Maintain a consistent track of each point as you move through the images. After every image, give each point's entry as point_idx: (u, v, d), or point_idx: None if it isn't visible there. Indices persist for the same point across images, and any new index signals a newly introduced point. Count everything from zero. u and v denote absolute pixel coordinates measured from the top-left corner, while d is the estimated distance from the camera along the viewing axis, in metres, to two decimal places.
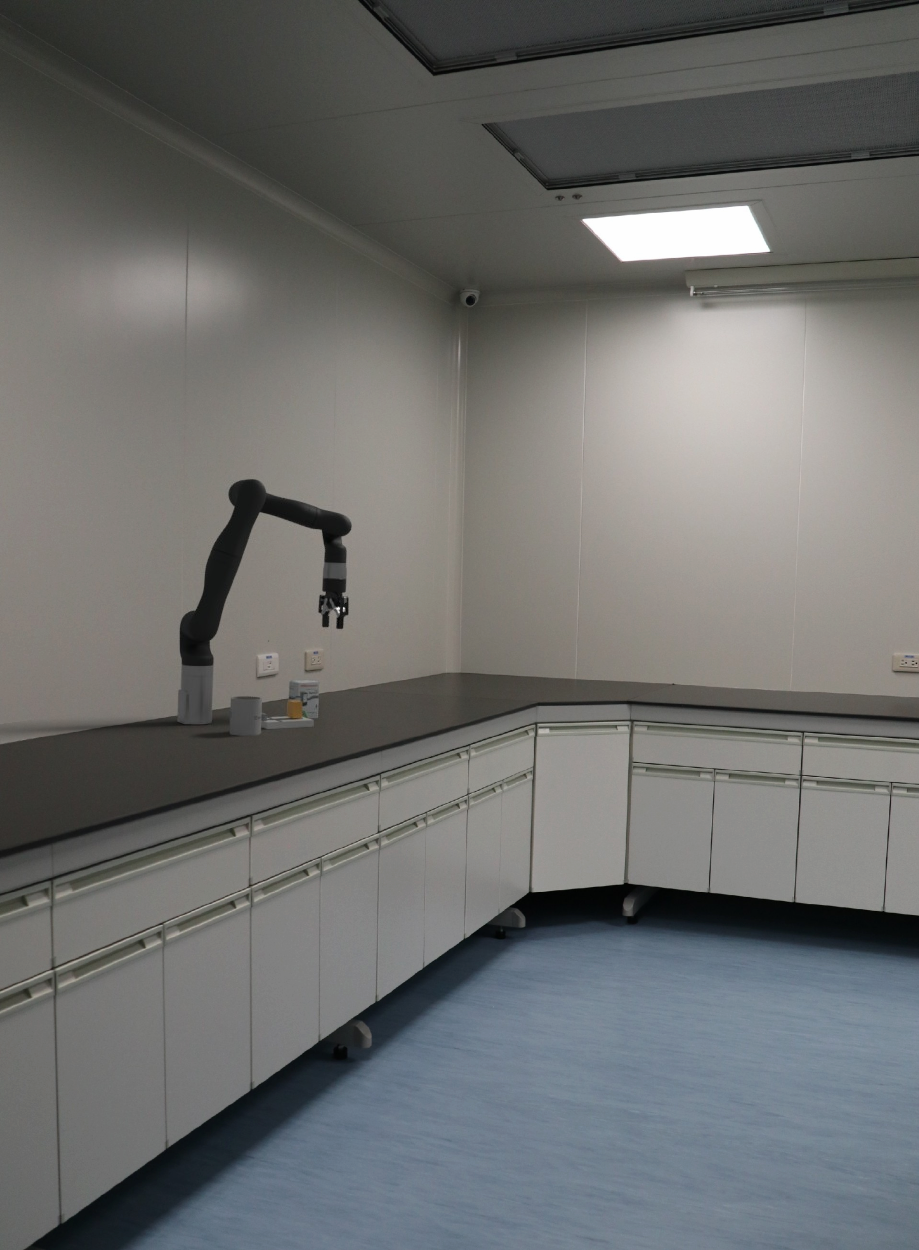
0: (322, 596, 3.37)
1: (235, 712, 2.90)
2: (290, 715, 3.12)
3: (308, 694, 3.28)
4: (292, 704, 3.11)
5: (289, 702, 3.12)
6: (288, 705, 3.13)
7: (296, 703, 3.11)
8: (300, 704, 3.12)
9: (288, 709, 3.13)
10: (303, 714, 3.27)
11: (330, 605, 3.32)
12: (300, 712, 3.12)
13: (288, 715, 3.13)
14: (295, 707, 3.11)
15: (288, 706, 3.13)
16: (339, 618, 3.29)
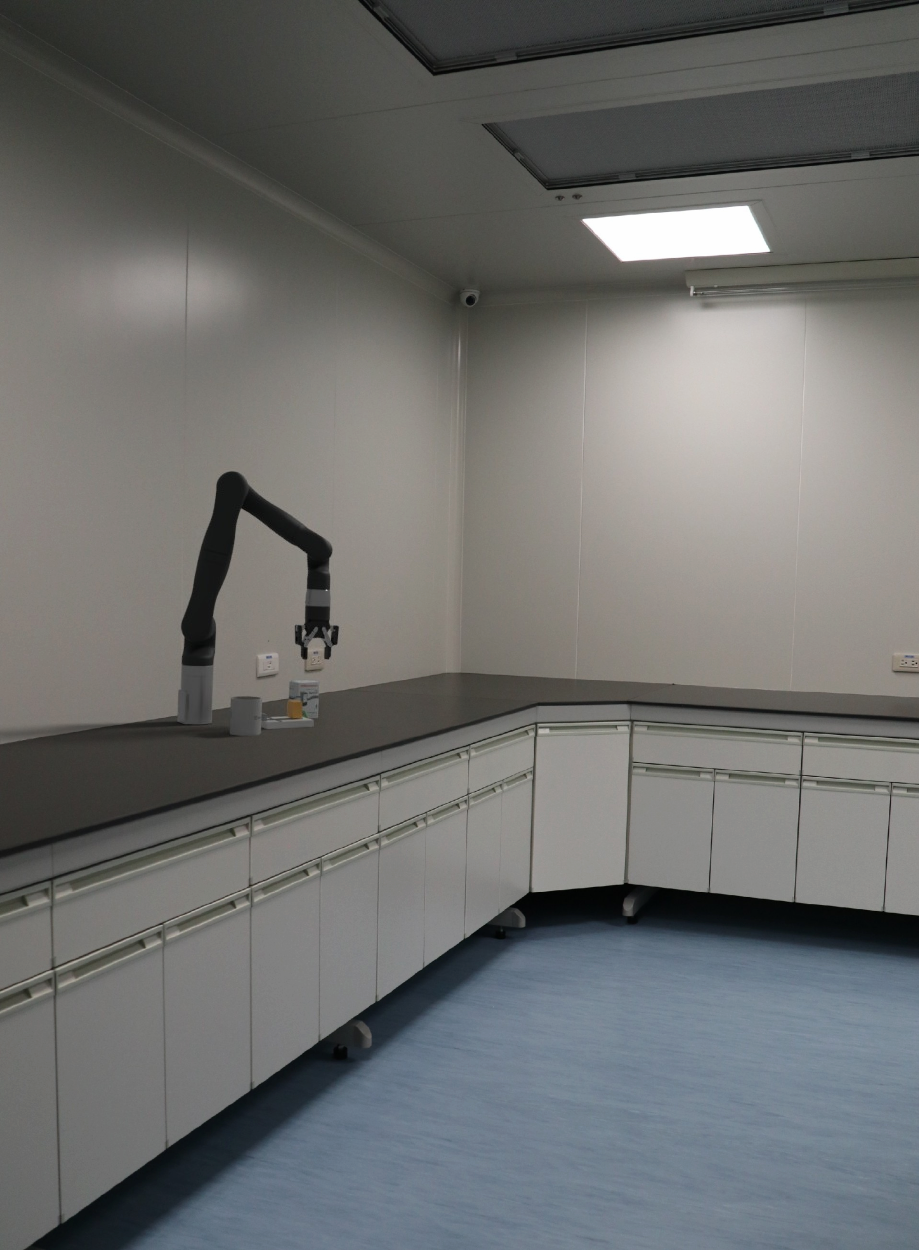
0: None
1: (235, 712, 2.90)
2: (290, 715, 3.12)
3: (308, 694, 3.28)
4: (292, 704, 3.11)
5: (289, 702, 3.12)
6: (288, 705, 3.13)
7: (296, 703, 3.11)
8: (300, 704, 3.12)
9: (288, 709, 3.13)
10: (303, 714, 3.27)
11: (318, 634, 3.15)
12: (300, 712, 3.12)
13: (288, 715, 3.13)
14: (295, 707, 3.11)
15: (288, 706, 3.13)
16: (330, 648, 3.18)
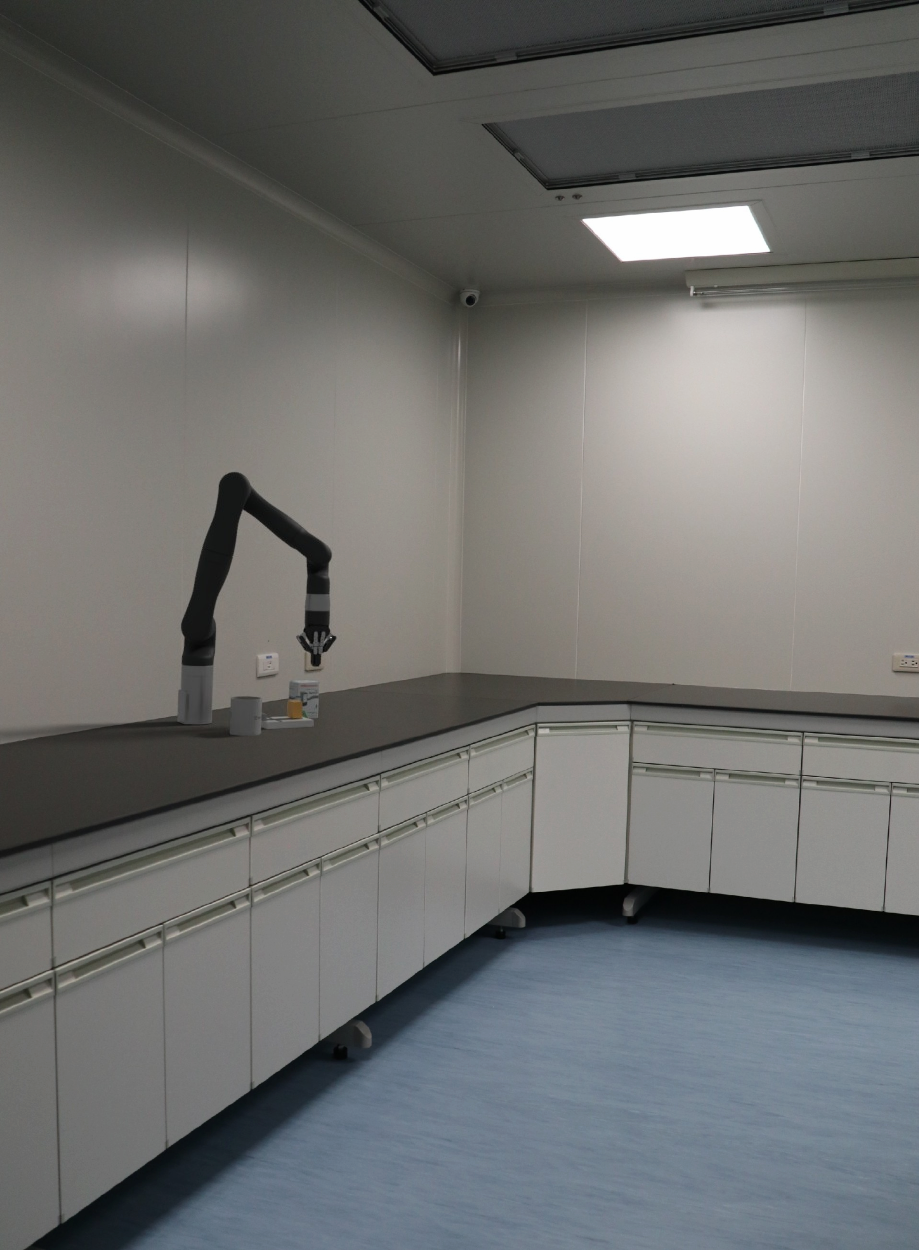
0: (302, 636, 3.12)
1: (235, 712, 2.90)
2: (290, 715, 3.12)
3: (308, 694, 3.28)
4: (292, 704, 3.11)
5: (289, 702, 3.12)
6: (288, 705, 3.13)
7: (296, 703, 3.11)
8: (300, 704, 3.12)
9: (288, 709, 3.13)
10: (303, 714, 3.27)
11: (318, 639, 3.15)
12: (300, 712, 3.12)
13: (288, 715, 3.13)
14: (295, 707, 3.11)
15: (288, 706, 3.13)
16: (320, 655, 3.16)
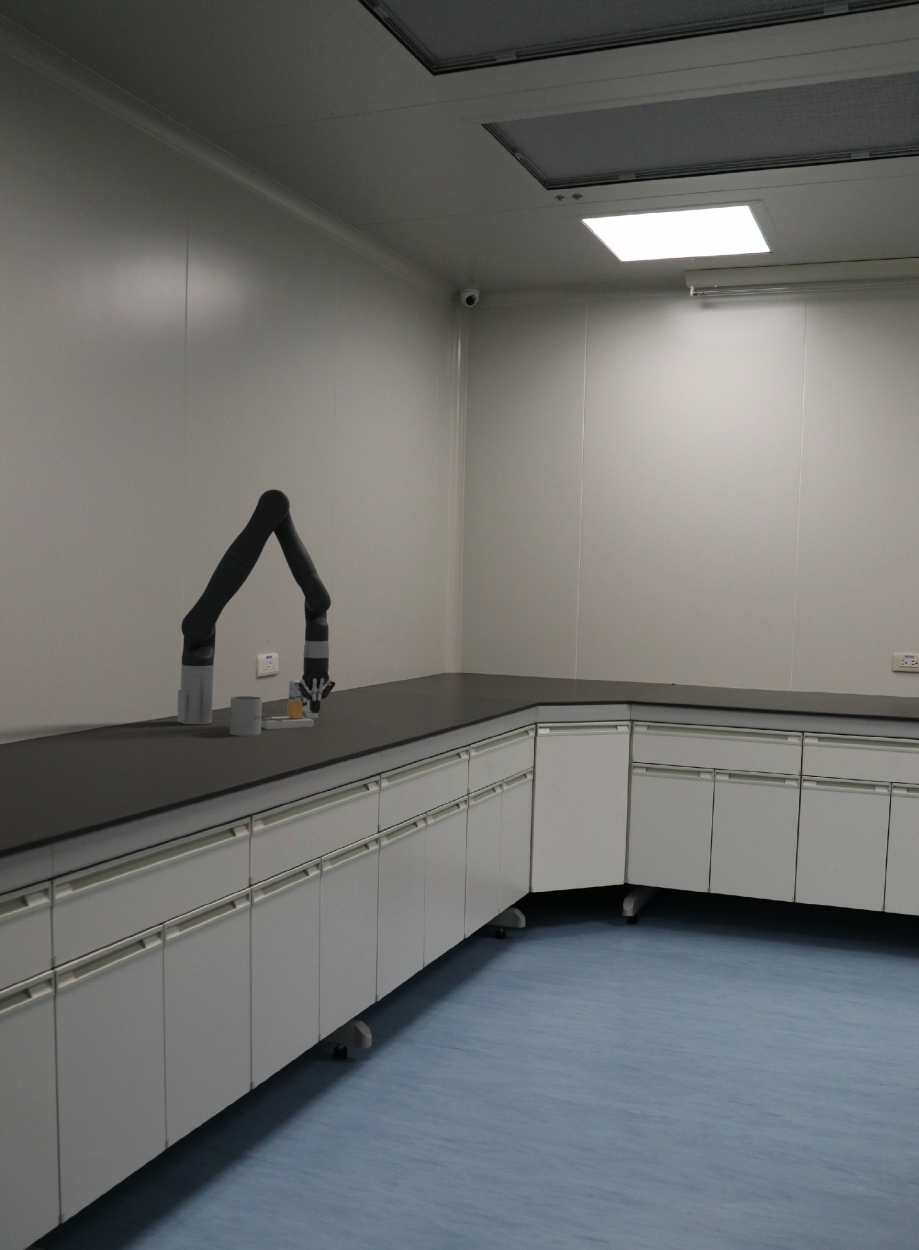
0: (301, 683, 3.13)
1: (235, 712, 2.90)
2: (290, 715, 3.12)
3: None
4: (292, 704, 3.11)
5: (289, 702, 3.12)
6: (288, 705, 3.13)
7: (296, 703, 3.11)
8: (300, 704, 3.12)
9: (288, 709, 3.13)
10: (303, 714, 3.27)
11: (317, 685, 3.15)
12: (300, 712, 3.12)
13: (288, 715, 3.13)
14: (295, 707, 3.11)
15: (288, 706, 3.13)
16: (319, 701, 3.17)
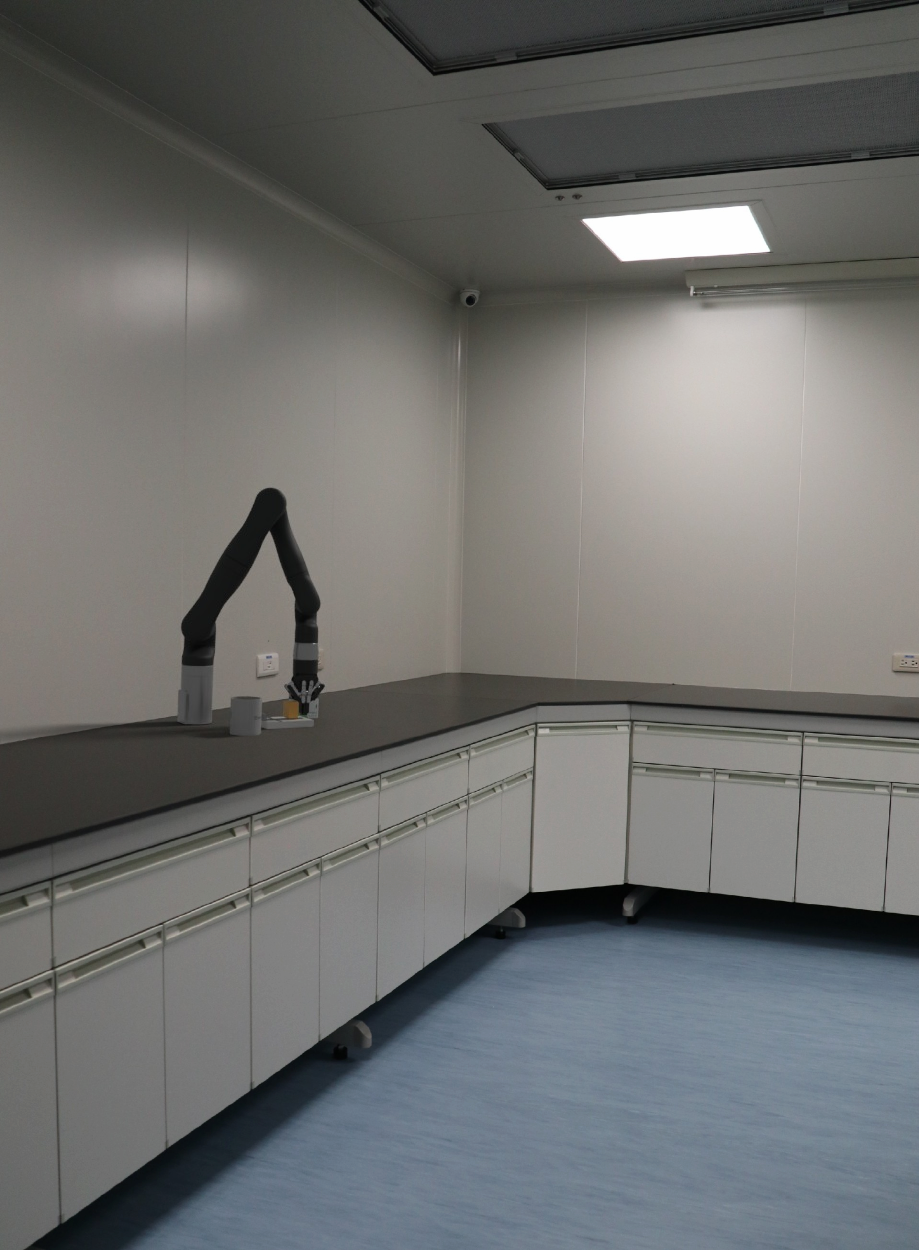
0: (290, 685, 3.11)
1: (235, 712, 2.90)
2: (286, 715, 3.11)
3: None
4: (288, 704, 3.10)
5: (285, 702, 3.12)
6: (284, 705, 3.13)
7: (292, 703, 3.10)
8: (296, 704, 3.11)
9: (284, 709, 3.12)
10: None
11: (306, 687, 3.14)
12: (296, 712, 3.11)
13: (284, 715, 3.12)
14: (291, 707, 3.10)
15: (284, 706, 3.12)
16: (308, 704, 3.15)
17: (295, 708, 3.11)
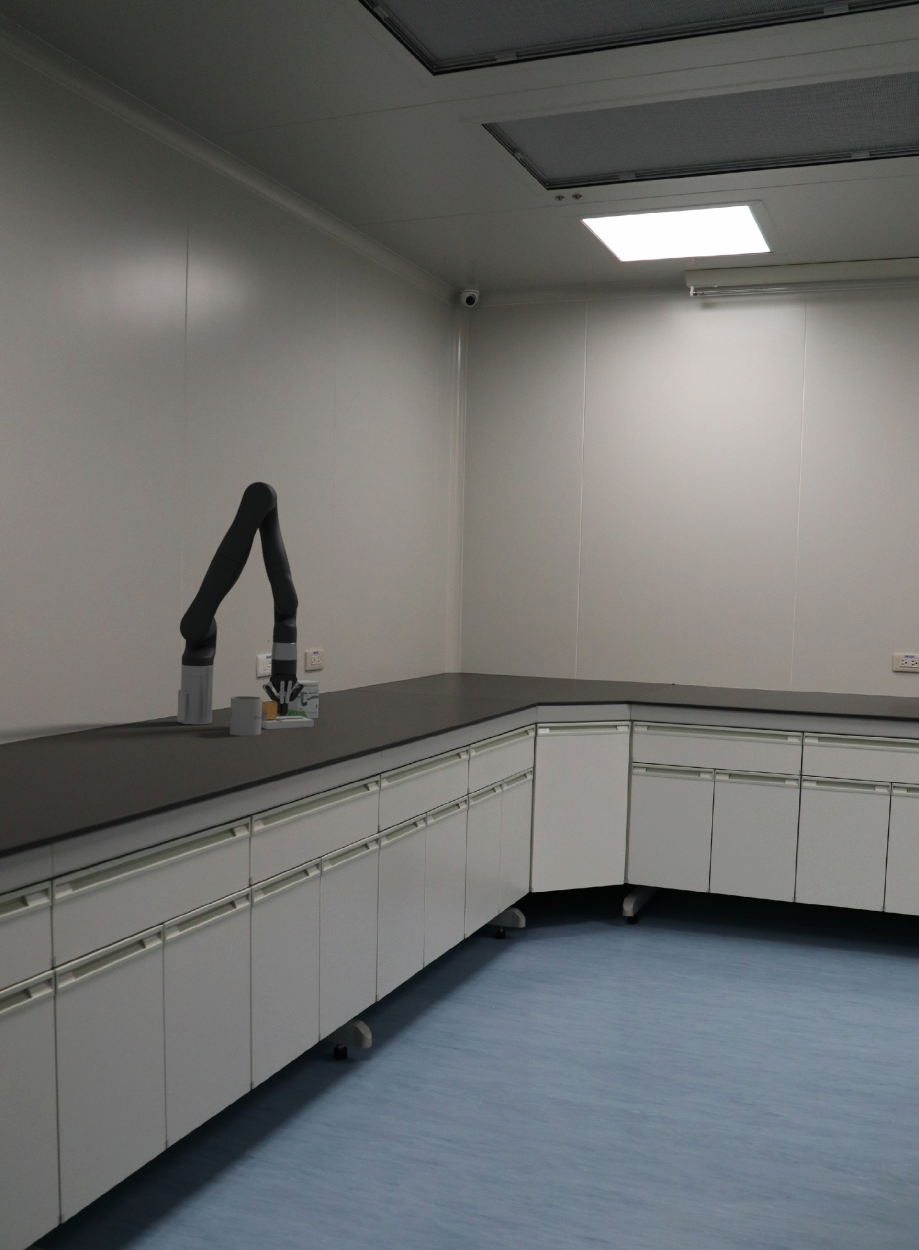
0: None
1: (235, 712, 2.90)
2: None
3: (308, 694, 3.28)
4: (266, 704, 3.06)
5: (263, 703, 3.08)
6: (262, 706, 3.09)
7: (270, 704, 3.06)
8: (274, 705, 3.07)
9: (262, 710, 3.08)
10: (303, 714, 3.27)
11: (284, 688, 3.10)
12: (274, 713, 3.07)
13: None
14: (269, 708, 3.06)
15: (262, 707, 3.08)
16: (287, 704, 3.11)
17: (273, 709, 3.07)
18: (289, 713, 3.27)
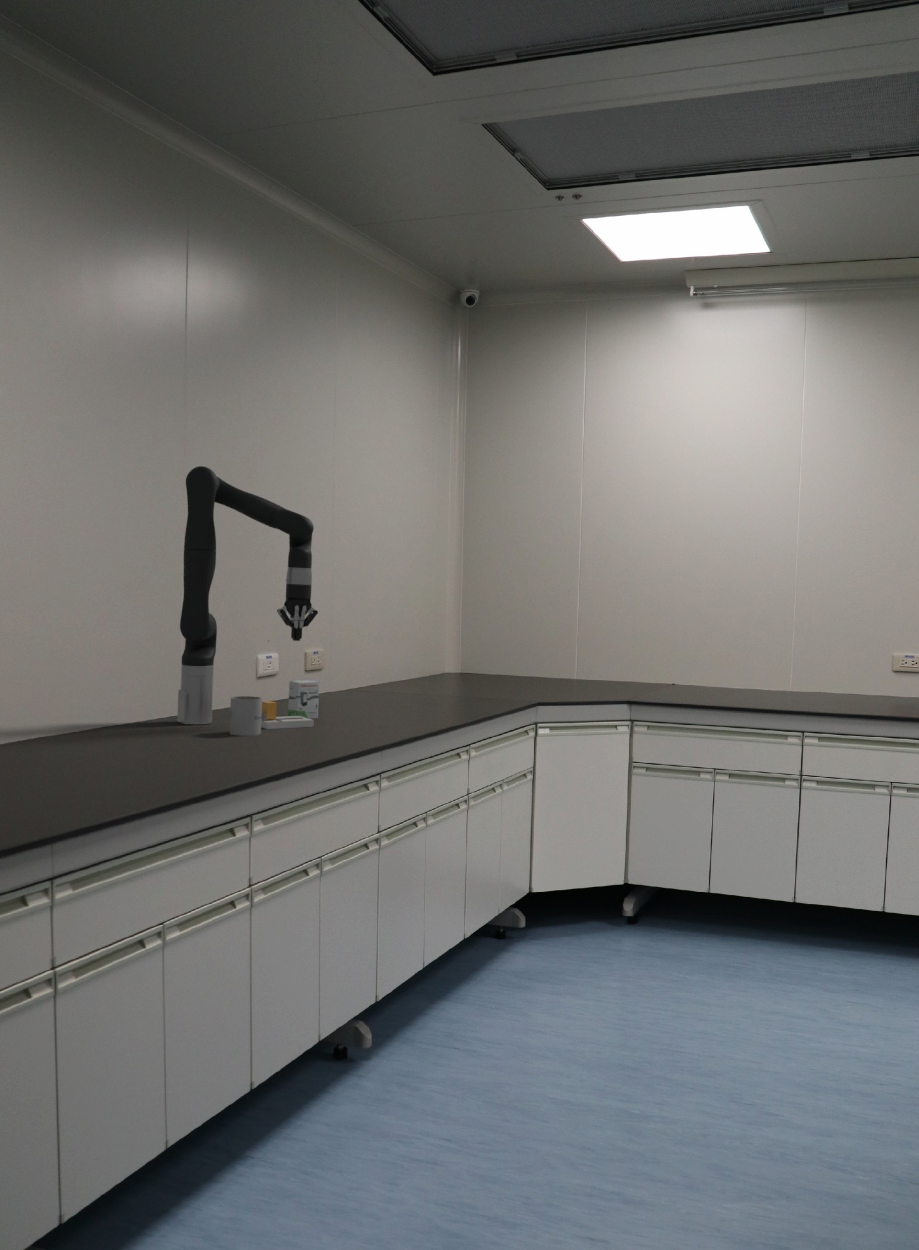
0: (282, 609, 3.10)
1: (235, 712, 2.90)
2: None
3: (308, 694, 3.28)
4: (266, 704, 3.06)
5: (263, 703, 3.08)
6: (262, 706, 3.09)
7: (270, 704, 3.06)
8: (274, 705, 3.07)
9: (262, 710, 3.08)
10: (303, 714, 3.27)
11: (299, 613, 3.13)
12: (274, 713, 3.07)
13: None
14: (269, 708, 3.06)
15: (262, 707, 3.08)
16: (301, 629, 3.14)
17: (273, 709, 3.07)
18: (289, 713, 3.27)
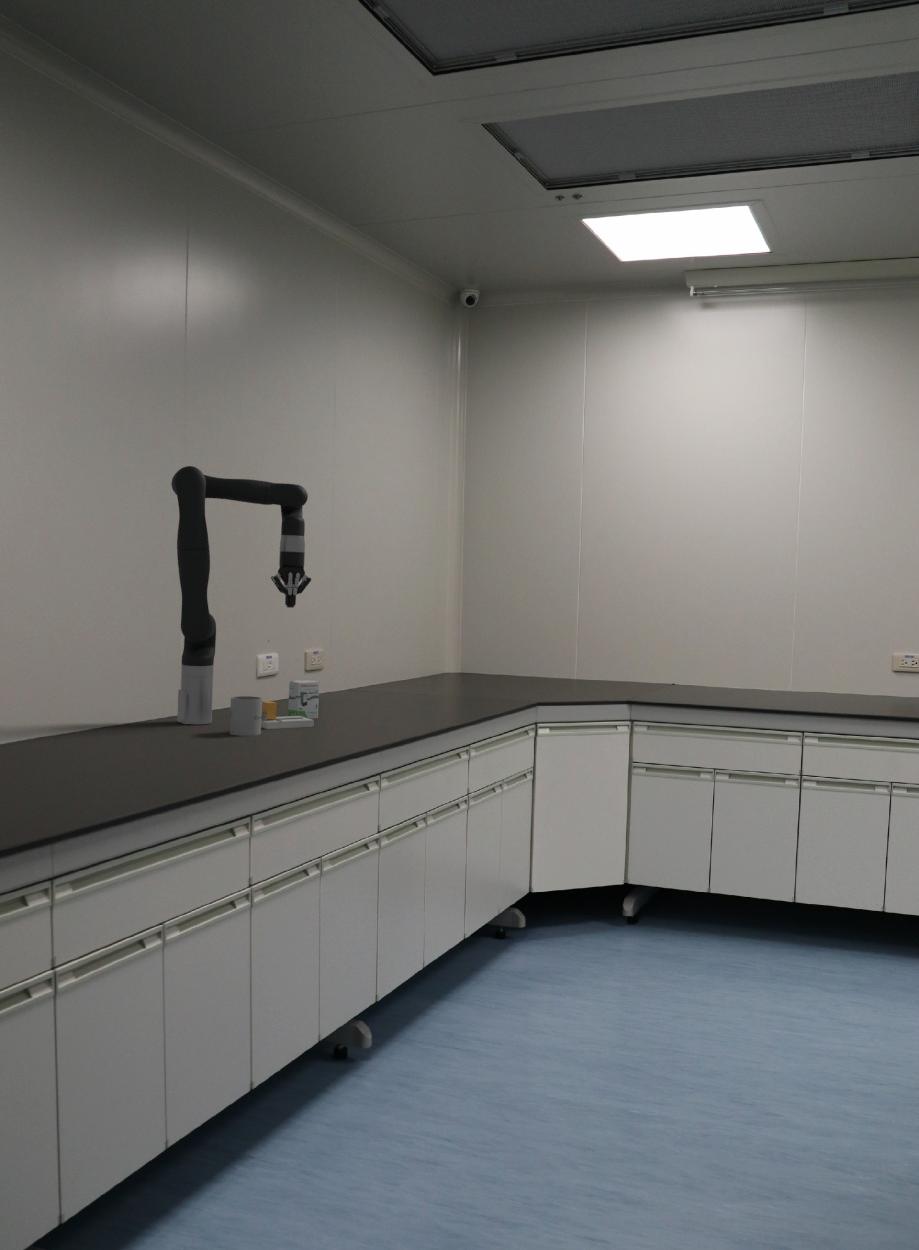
0: (276, 576, 3.16)
1: (235, 712, 2.90)
2: None
3: (308, 694, 3.28)
4: (266, 704, 3.06)
5: (263, 703, 3.08)
6: (262, 706, 3.09)
7: (270, 704, 3.06)
8: (274, 705, 3.07)
9: (262, 710, 3.08)
10: (303, 714, 3.27)
11: (292, 580, 3.18)
12: (274, 713, 3.07)
13: None
14: (269, 708, 3.06)
15: (262, 707, 3.08)
16: (294, 596, 3.19)
17: (273, 709, 3.07)
18: (289, 713, 3.27)
